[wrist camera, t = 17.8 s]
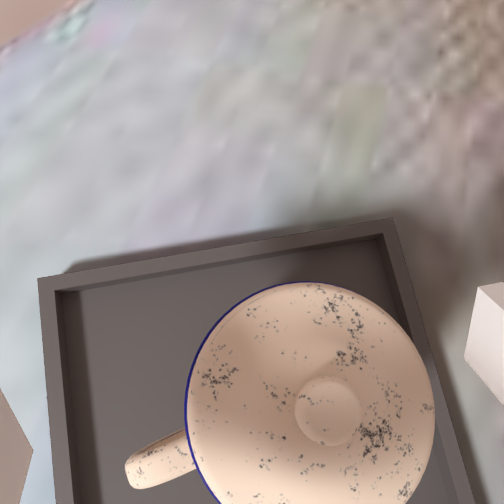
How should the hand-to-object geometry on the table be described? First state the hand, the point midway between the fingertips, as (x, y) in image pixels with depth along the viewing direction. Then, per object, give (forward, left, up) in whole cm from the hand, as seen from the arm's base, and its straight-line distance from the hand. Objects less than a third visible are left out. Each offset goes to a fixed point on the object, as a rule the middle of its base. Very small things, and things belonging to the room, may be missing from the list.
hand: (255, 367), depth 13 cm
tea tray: (0, +2, -13) cm, 13 cm away
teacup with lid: (-1, +2, -13) cm, 13 cm away
